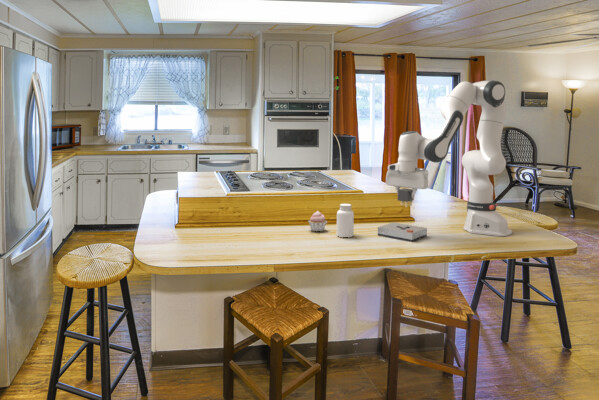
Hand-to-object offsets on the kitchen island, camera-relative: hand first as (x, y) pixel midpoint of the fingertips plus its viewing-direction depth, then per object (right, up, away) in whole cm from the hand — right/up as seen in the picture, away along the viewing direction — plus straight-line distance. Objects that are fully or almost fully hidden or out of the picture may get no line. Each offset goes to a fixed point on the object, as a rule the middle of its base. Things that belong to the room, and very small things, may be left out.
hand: (405, 196), depth 224 cm
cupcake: (-40, -17, +14) cm, 46 cm away
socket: (-1, -18, +4) cm, 19 cm away
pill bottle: (-28, -19, +4) cm, 34 cm away
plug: (0, -4, +1) cm, 4 cm away
